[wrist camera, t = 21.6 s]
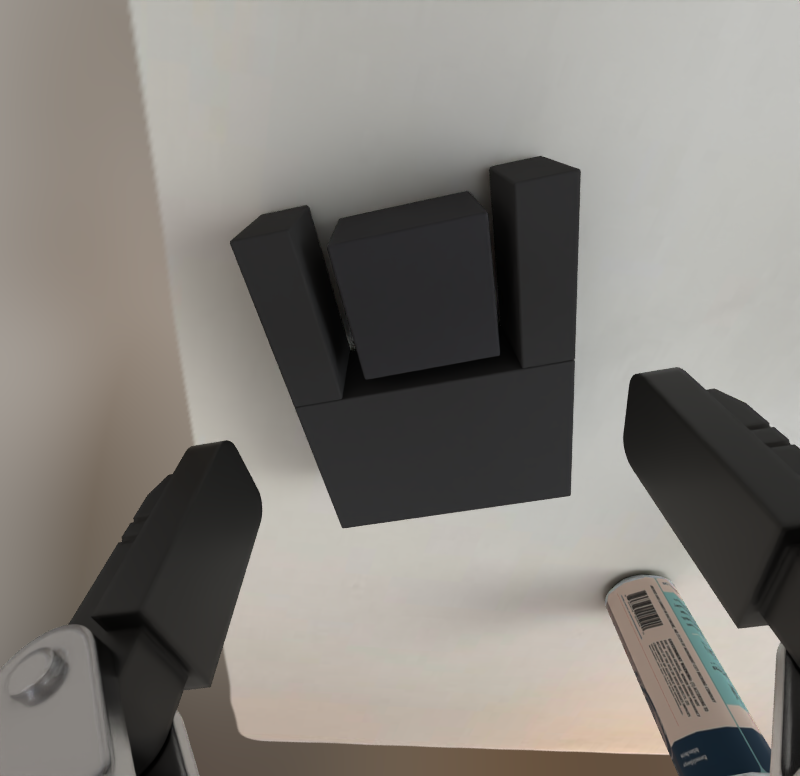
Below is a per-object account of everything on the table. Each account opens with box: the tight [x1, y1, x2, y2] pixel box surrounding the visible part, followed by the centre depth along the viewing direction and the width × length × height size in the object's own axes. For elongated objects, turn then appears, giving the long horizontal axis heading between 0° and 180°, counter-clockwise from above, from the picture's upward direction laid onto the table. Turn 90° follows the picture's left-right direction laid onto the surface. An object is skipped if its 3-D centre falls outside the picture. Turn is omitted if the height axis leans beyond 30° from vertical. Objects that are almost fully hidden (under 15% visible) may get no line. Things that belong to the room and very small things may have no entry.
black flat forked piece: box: [230, 156, 581, 528], centre depth 19 cm, size 14×11×4 cm
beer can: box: [605, 575, 771, 776], centre depth 26 cm, size 5×5×12 cm
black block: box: [327, 191, 500, 379], centre depth 17 cm, size 5×5×4 cm
